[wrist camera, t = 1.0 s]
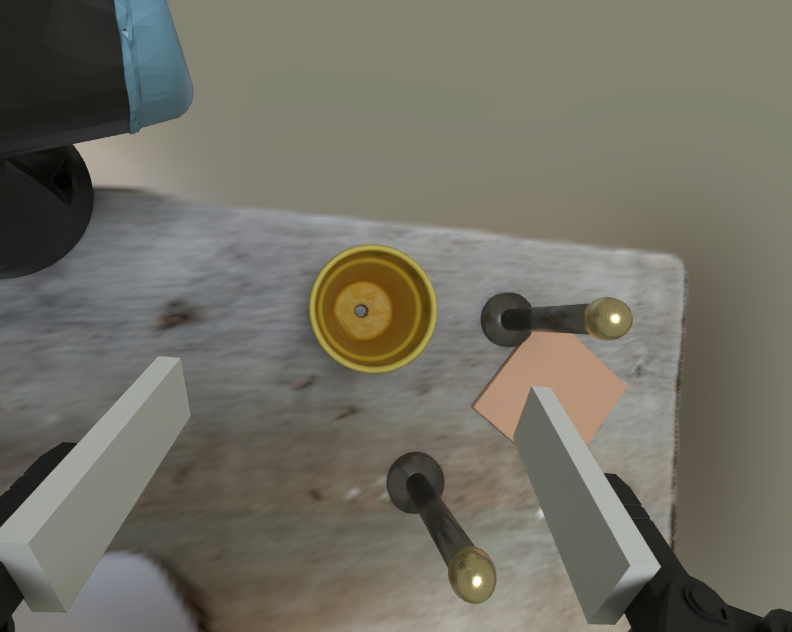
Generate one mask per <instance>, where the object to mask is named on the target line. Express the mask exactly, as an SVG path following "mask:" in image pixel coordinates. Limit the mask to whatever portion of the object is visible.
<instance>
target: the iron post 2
mask: <svg viewBox="0 0 792 632" xmlns="http://www.w3.org/2000/svg"><path fill="white" fill-rule="evenodd" d="M632 322H633V316H632V312H631V310H630V308H629V307H628V306H627V305H626V304H625V303H624V302H623V301H621V300H619V299H616V298H612V297H604V298H599V299H597V300H594V301H593V302H591V303H590V304H577V305H562V306H547V307H531V305H530V303H529V302H528V301H527V300H526V299H525V298H524V297H522V296H521V295H519V294H516V293H503V294H498V295H496V296H494V297H492V298H491V299H490V300H489V301H488V302H487V303H486V305H485V306H484V308H483V311H482V315H481V324H482V328H483V331H484V333H485V335H486V336H487V338H488V339H489V340H490V341H492V342H493V343H495V344H497V345H500V346H506V347H514V346H518V345H520V344H522V343H523V342H525V341H526V340H527V339H528V338H529V336H530V335H531V333H532V332H551V333H572V334H591V335H592V336H593V337H595V338H597V339H600V340H606V341H609V340H616V339H618V338H621V337H622V336H624V335H625V334H626V333H627V332H628V331H629V330H630V328H631V325H632Z"/></svg>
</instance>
